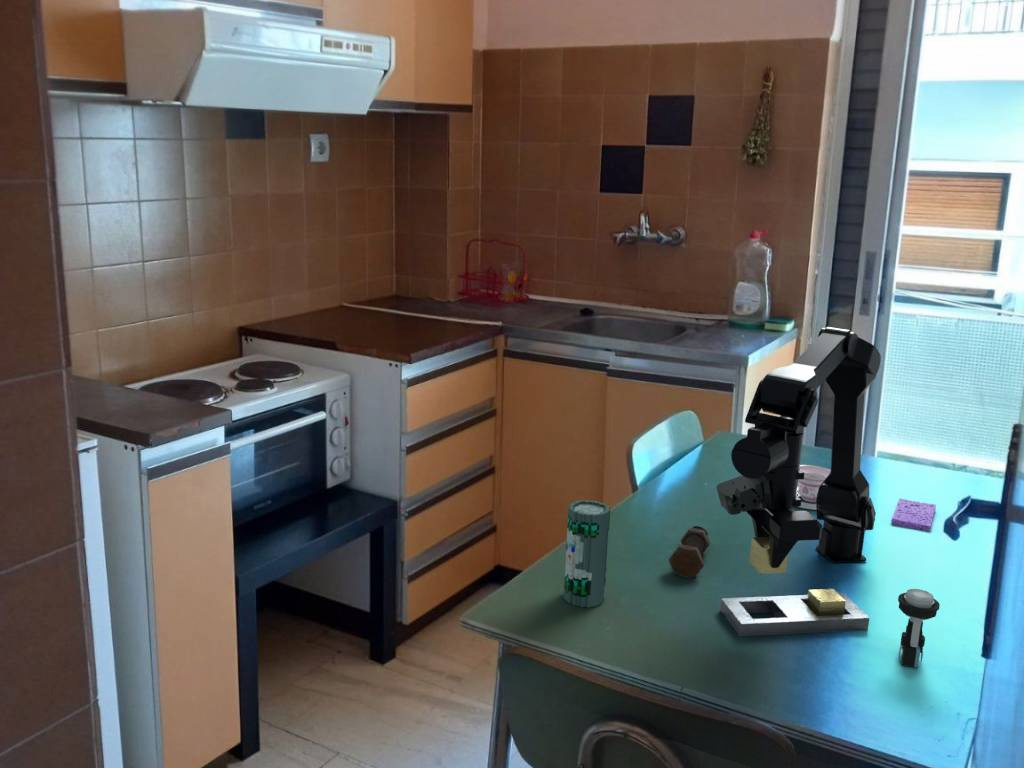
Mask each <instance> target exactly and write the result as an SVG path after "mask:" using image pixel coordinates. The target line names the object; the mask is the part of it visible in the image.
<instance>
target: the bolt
mask: <svg viewBox="0 0 1024 768" xmlns="http://www.w3.org/2000/svg"><path fill="white" fill-rule="evenodd" d="M708 535H709V533H708V531H707V530H706V529H705V528H704V527H702V526H699V525H694V526H692V527H689V529H687V531H686V532H685V533H684V535H683V536H682V537H681V538H680V543H681V544H679V545H678V546H677V547H676V549H675V550H674V551H673V552H672V554H671V555H670V556H669V559H668V562H669V564H670V567H671V569H672V572H673V573H674V574H675V576H676V575H677V576H678V577H679V576H680V577H684V578H689V579H692V578H696V577H697V576H698V574H699V573H700V572H701V570H702V569H703V568H704V566H705V565H706V562H705V560H704V558H703V556H702V555H704V553H705V552H706V550H707V549H708V548H709V546H710V545H711V542H710V539H709V536H708Z"/></svg>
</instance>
